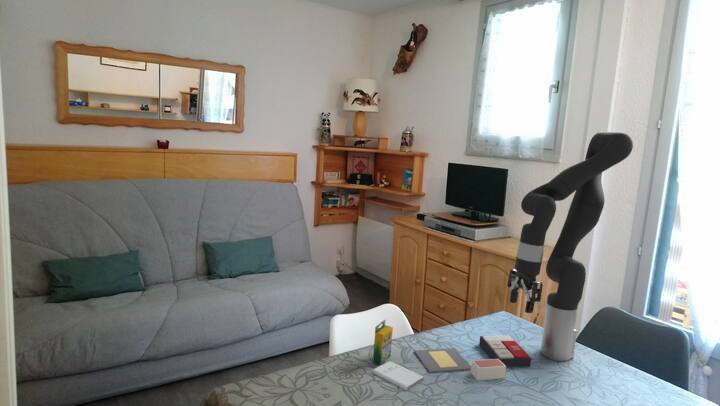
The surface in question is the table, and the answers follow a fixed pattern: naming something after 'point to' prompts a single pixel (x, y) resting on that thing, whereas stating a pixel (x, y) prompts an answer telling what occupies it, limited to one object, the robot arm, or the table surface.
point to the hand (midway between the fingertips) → (520, 307)
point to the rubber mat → (442, 360)
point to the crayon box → (382, 343)
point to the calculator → (505, 350)
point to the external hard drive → (398, 375)
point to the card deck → (488, 369)
